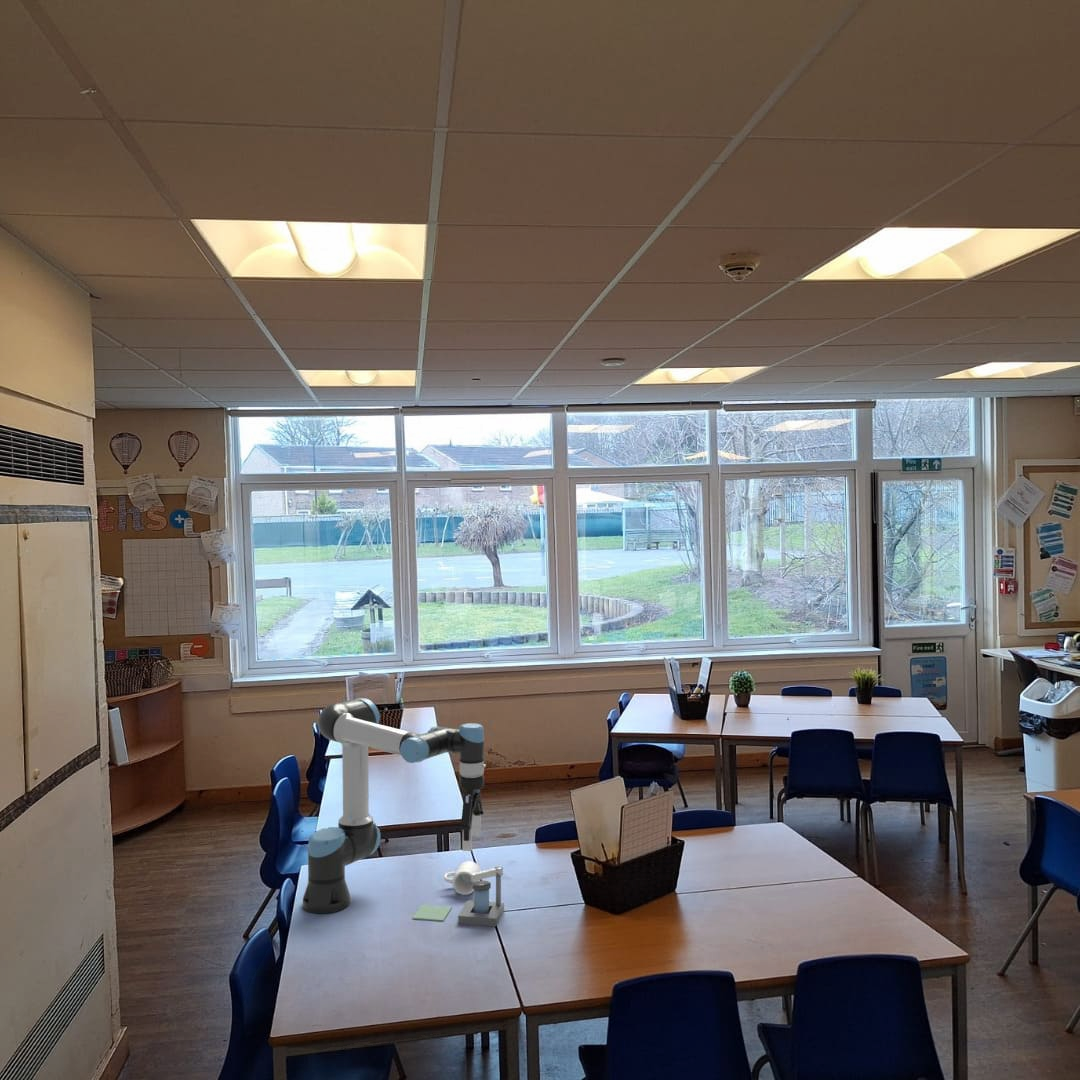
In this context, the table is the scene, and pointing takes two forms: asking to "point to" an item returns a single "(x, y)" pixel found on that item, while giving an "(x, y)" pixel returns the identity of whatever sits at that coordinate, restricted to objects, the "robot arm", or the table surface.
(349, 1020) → the table surface
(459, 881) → the mug
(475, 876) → the lever
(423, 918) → the mat
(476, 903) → the plug
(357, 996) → the table surface
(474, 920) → the socket
